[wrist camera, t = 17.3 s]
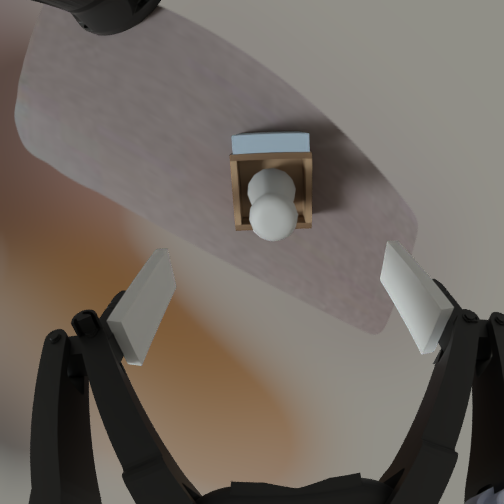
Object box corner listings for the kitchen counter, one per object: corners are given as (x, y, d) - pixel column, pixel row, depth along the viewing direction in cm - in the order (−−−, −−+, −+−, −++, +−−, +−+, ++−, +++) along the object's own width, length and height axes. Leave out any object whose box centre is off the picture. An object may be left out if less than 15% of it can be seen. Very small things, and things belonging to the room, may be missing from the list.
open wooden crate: (234, 151, 34) (229, 155, 30) (305, 148, 34) (311, 152, 29) (239, 217, 39) (235, 230, 34) (305, 215, 38) (311, 228, 34)
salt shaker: (299, 174, 33) (319, 202, 22) (284, 213, 36) (294, 260, 24) (256, 159, 33) (251, 179, 21) (242, 200, 35) (231, 241, 24)
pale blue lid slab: (238, 133, 33) (231, 135, 26) (299, 131, 33) (309, 133, 26) (239, 148, 34) (232, 154, 27) (299, 146, 34) (309, 151, 26)
